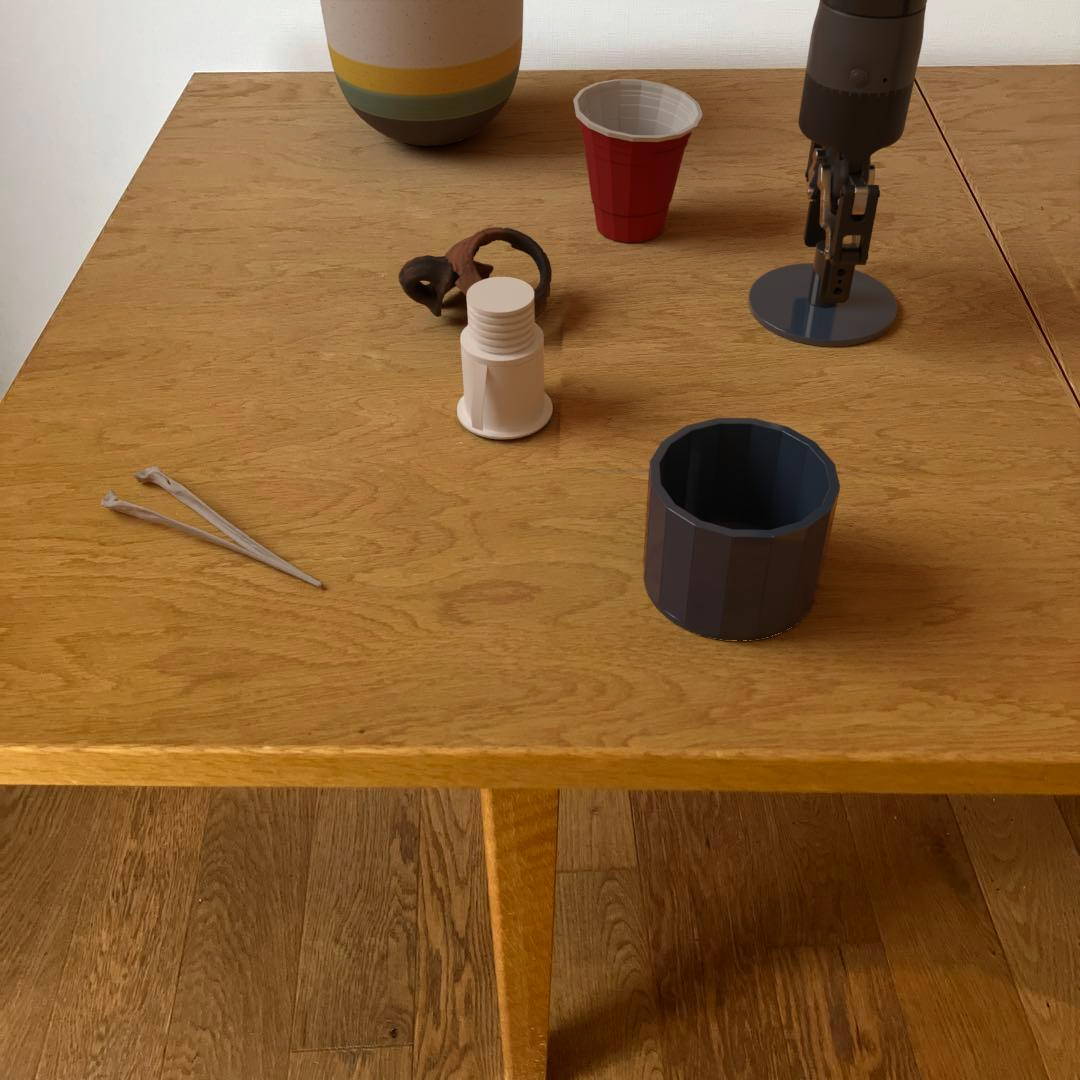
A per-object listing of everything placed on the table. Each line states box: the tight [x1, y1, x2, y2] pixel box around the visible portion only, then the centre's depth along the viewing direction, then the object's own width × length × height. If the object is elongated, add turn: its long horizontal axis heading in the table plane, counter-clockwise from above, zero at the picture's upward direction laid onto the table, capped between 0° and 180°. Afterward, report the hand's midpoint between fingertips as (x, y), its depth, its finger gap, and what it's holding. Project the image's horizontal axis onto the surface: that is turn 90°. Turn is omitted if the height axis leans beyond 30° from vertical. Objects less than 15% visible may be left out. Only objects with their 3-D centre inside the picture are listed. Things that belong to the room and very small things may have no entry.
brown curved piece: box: [398, 226, 553, 321], centre depth 95 cm, size 12×10×8 cm
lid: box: [747, 239, 898, 348], centre depth 95 cm, size 12×12×6 cm
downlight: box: [456, 276, 554, 440], centre depth 85 cm, size 8×7×10 cm
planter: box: [319, 0, 524, 147], centre depth 116 cm, size 20×20×21 cm
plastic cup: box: [572, 78, 704, 244], centre depth 103 cm, size 11×11×12 cm
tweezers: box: [100, 465, 323, 588], centre depth 78 cm, size 17×5×2 cm, turn 58°
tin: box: [642, 417, 841, 642], centre depth 72 cm, size 11×11×8 cm
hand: (824, 271), depth 95 cm, fingers open, 8 cm apart
